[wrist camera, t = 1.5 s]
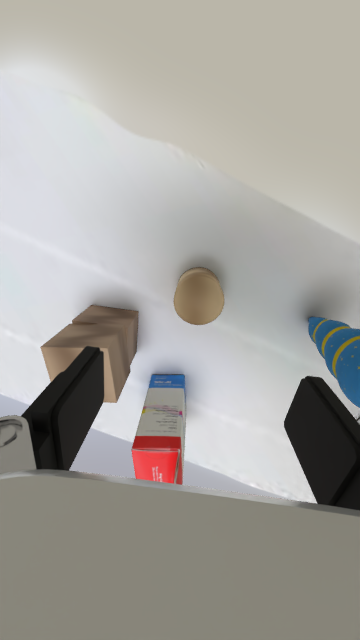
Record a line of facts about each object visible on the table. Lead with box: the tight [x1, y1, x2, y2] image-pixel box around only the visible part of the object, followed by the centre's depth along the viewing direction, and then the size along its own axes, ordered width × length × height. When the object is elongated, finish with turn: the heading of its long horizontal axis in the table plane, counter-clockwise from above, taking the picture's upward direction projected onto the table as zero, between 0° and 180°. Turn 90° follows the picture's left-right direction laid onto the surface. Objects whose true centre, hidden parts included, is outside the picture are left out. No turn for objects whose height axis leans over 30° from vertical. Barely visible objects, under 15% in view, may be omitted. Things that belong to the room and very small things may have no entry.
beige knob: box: [174, 267, 224, 325], centre depth 25 cm, size 5×5×5 cm
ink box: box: [132, 375, 186, 485], centre depth 27 cm, size 8×5×15 cm, turn 2°
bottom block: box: [72, 305, 139, 365], centre depth 28 cm, size 6×6×5 cm
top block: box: [41, 324, 130, 403], centre depth 23 cm, size 6×6×5 cm
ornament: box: [308, 317, 360, 408], centre depth 21 cm, size 5×5×15 cm
